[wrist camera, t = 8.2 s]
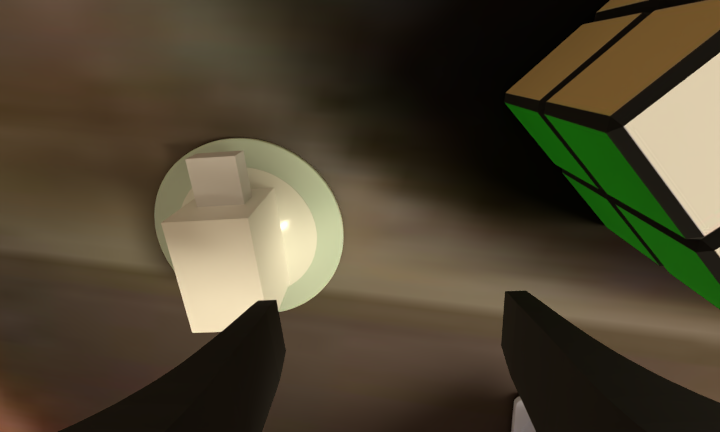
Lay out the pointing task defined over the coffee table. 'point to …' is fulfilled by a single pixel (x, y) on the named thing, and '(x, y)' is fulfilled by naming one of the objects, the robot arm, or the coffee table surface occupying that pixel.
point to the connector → (225, 243)
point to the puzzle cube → (639, 128)
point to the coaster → (295, 207)
